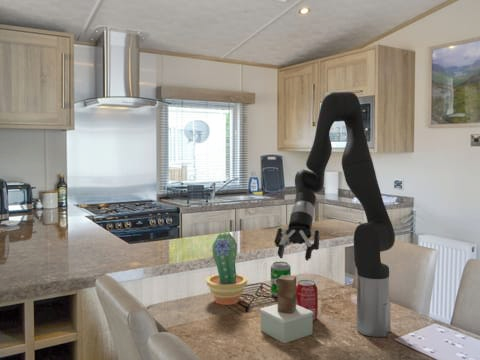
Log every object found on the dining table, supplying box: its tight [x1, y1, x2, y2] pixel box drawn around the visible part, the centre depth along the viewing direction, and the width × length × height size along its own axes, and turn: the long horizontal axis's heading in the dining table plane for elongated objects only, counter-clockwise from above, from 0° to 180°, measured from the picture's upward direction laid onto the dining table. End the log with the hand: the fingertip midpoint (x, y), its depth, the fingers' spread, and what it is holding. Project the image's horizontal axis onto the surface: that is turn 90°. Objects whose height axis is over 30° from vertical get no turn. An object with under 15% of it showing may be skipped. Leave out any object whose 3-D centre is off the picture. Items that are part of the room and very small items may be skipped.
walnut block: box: [277, 275, 297, 314], centre depth 129 cm, size 4×4×10 cm
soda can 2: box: [296, 279, 319, 322], centre depth 140 cm, size 7×7×12 cm
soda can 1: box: [270, 261, 292, 298], centre depth 164 cm, size 8×8×12 cm
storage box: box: [259, 303, 313, 344], centre depth 130 cm, size 11×11×7 cm
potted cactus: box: [205, 232, 248, 306], centre depth 157 cm, size 15×15×25 cm
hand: (293, 258), depth 136 cm, fingers open, 8 cm apart
